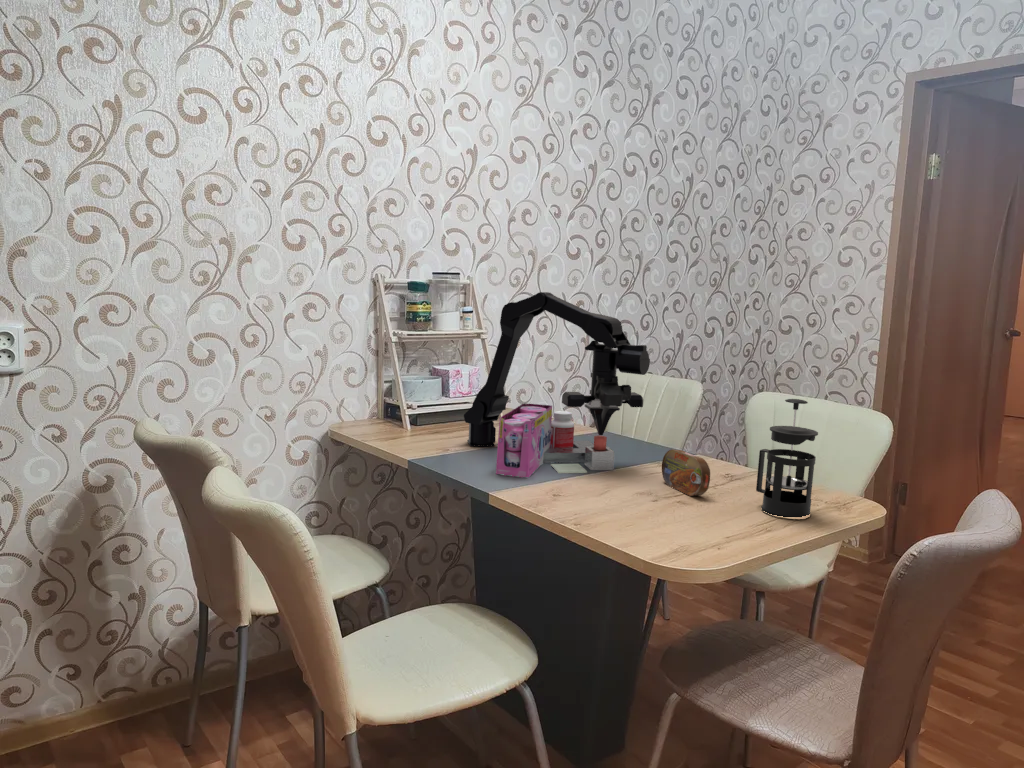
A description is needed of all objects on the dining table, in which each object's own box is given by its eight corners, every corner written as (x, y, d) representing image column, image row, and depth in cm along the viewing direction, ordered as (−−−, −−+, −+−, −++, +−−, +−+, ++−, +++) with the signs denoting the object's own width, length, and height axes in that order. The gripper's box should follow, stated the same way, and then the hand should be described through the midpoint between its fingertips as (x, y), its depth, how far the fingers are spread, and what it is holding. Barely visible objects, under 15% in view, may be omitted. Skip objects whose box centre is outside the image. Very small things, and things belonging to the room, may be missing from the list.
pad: (558, 473, 167) (558, 471, 167) (550, 465, 173) (550, 464, 173) (587, 472, 168) (587, 471, 168) (578, 465, 175) (578, 463, 175)
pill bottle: (577, 455, 185) (579, 413, 183) (561, 458, 181) (563, 415, 179) (559, 450, 189) (561, 409, 188) (543, 453, 185) (545, 411, 184)
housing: (591, 470, 170) (592, 451, 170) (584, 464, 176) (585, 446, 175) (613, 470, 172) (614, 451, 171) (605, 464, 177) (606, 446, 176)
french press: (822, 515, 143) (834, 401, 140) (799, 524, 137) (811, 405, 134) (768, 500, 152) (778, 393, 148) (744, 508, 146) (754, 396, 142)
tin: (659, 481, 163) (661, 445, 162) (671, 480, 164) (673, 444, 163) (698, 501, 149) (701, 461, 148) (711, 500, 151) (714, 461, 149)
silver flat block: (542, 463, 175) (542, 453, 175) (530, 450, 188) (530, 441, 188) (604, 462, 179) (605, 452, 178) (588, 450, 191) (589, 440, 191)
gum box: (527, 481, 160) (529, 422, 159) (493, 477, 163) (495, 418, 161) (550, 457, 183) (553, 405, 181) (520, 454, 185) (523, 402, 183)
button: (595, 450, 171) (596, 438, 171) (591, 447, 174) (592, 435, 174) (607, 450, 172) (608, 438, 171) (603, 447, 175) (604, 435, 174)
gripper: (576, 374, 161) (572, 442, 163) (654, 375, 164) (649, 442, 167) (562, 368, 171) (559, 432, 174) (636, 369, 175) (632, 432, 177)
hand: (600, 434), depth 173 cm, fingers closed
